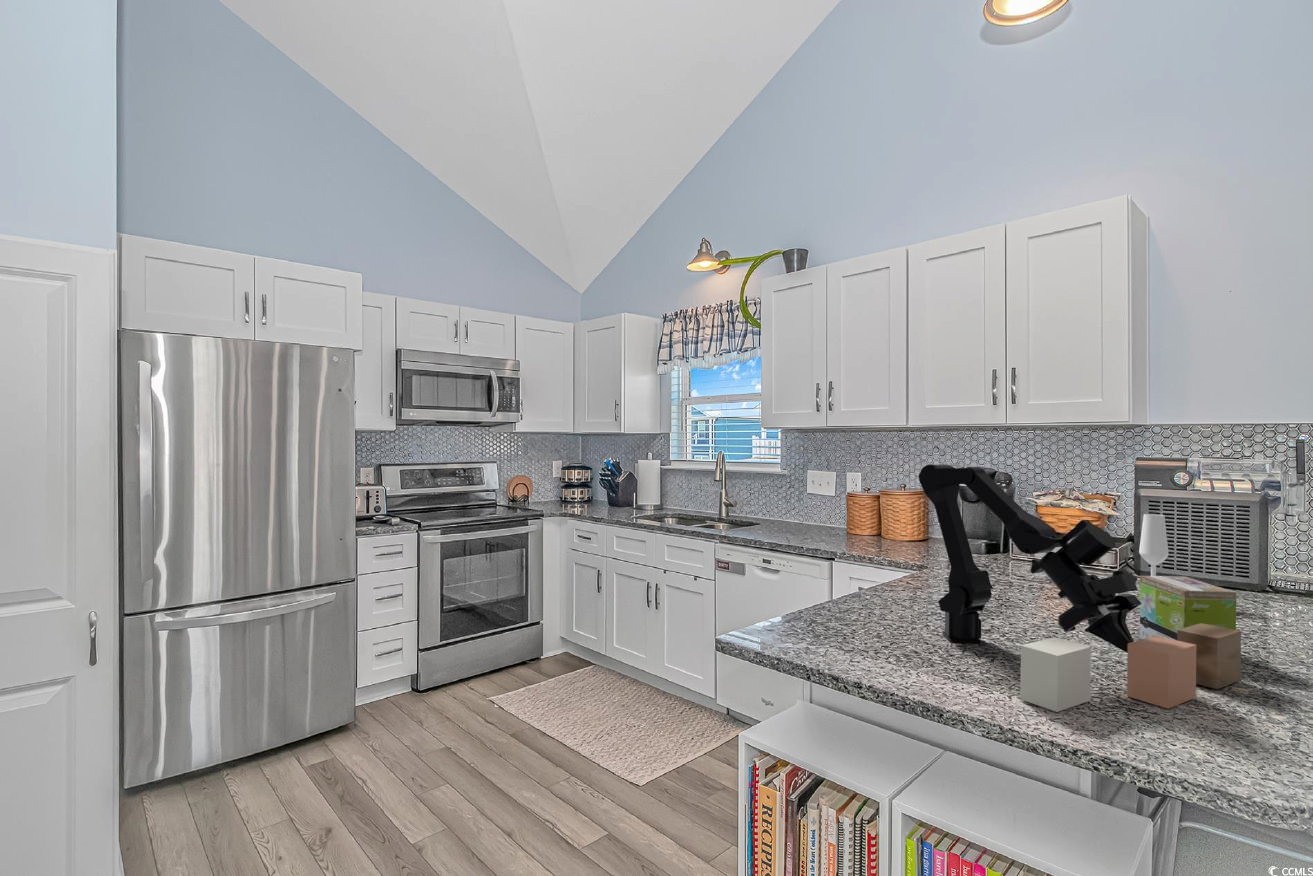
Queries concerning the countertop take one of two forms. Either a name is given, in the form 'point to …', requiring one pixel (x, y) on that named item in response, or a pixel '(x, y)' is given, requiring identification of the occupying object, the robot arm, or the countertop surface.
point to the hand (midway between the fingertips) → (1136, 654)
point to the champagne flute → (1153, 540)
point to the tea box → (1182, 605)
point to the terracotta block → (1161, 671)
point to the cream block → (1055, 673)
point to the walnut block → (1214, 654)
